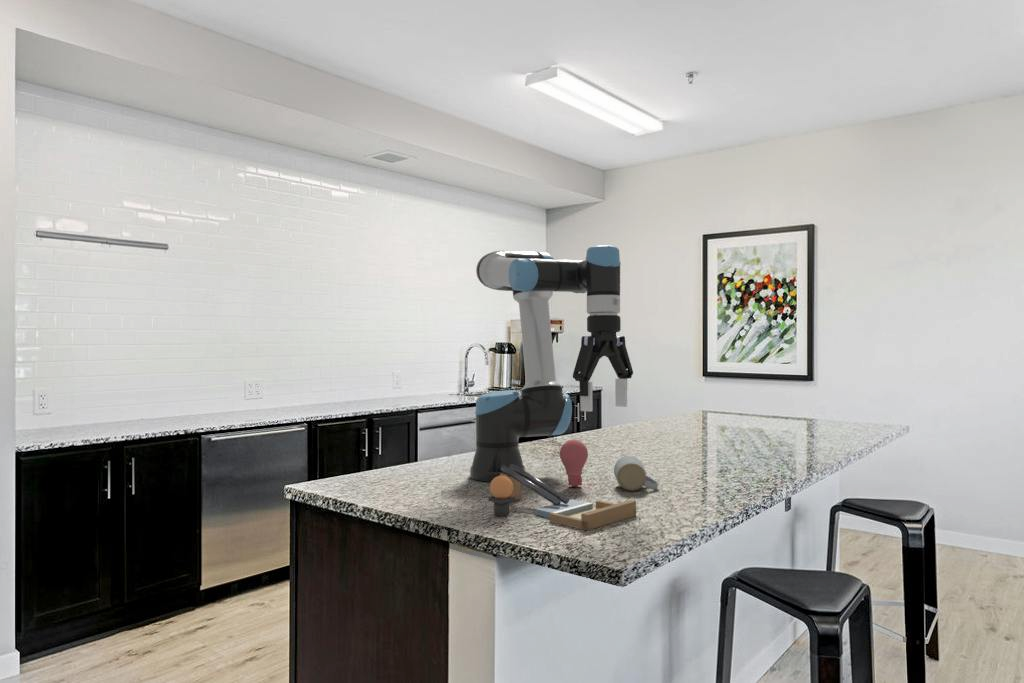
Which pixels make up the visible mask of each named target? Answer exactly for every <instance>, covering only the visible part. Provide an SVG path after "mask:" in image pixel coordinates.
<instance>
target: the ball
mask: <svg viewBox="0 0 1024 683" xmlns="http://www.w3.org/2000/svg"><path fill="white" fill-rule="evenodd" d="M489 491H490V494H491V496H494V497H495V498H498V499H505V498H508V497H509V496H510V495H511V494H512V492H513V483H512V481H511V480H510V479H509V478H508V477H506V476H497V477H495V478H494V479H493V480H492V481H491V482H490V484H489Z"/></svg>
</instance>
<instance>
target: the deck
mask: <svg viewBox="0 0 1024 683" xmlns="http://www.w3.org/2000/svg"><path fill="white" fill-rule="evenodd" d="M592 508H594V504H593V503H592V502H585V501H582V500H581V501H580V500H575V499H569V502H568V503H567V504H565V503H563V502H561V503H560V505H559V506H556V505H554V504H553V503H551V504H549V505H545V506H541V507H537V508H535V509H534V515H535V516H538V517H539V516H540V517H543V518H548V519H550V513H556V514H561V515H565V516H567V515H571V514H575V513H578V512H582V511H585V510H589V509H592Z"/></svg>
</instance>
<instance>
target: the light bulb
mask: <svg viewBox="0 0 1024 683" xmlns="http://www.w3.org/2000/svg"><path fill="white" fill-rule="evenodd" d="M559 457H560V458H559V459H560V461H561V464H563V466H564V469H565V474H566V475H567V483H568V486H571V487H573V488H576V487H579V486H581V485H583V476H582V474H583V468H584V467H585V466H586V463H587V460H588V457H589V451H588V448H587V446H586V445H585V443H583V442H582V441H581V440H578V439H569V440H567V441H566V442H564V443H563V444H562V445H561V447H560V449H559Z"/></svg>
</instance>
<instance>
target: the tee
mask: <svg viewBox="0 0 1024 683" xmlns="http://www.w3.org/2000/svg"><path fill="white" fill-rule="evenodd" d="M487 498H488V499H487V500H488V502H491V503H494V504H493V507H494V508H493V510H494V511H493V516H495V515H496V516H495V517H497V516H506V517H508V516H507V515H509V516H510V502H511V503H512V502H515V497H513V496H509V497H508V498H505V499H498V498H495V497H494V496H493V495H491V496H489V497H487Z"/></svg>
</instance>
